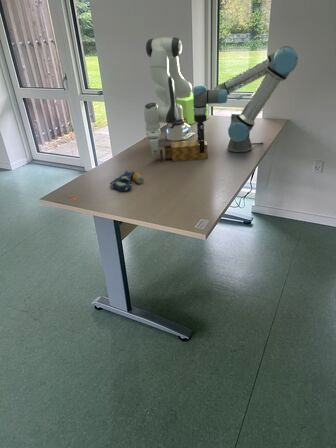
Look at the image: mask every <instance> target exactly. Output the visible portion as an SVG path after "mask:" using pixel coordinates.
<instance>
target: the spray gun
mask: <svg viewBox="0 0 336 448" xmlns="http://www.w3.org/2000/svg"><path fill="white" fill-rule="evenodd" d="M132 180H133V181H134V182H135V183H137V184H138V185H141V184H142V183H143V182H144V176H142V175H141V174H140V173H135V170H124V172H123V173H122V174H120V175H118V176H117V177H116V178H114V179H113V180H112V181H111V182H110V185H109V188H112V189H113V190H114V189H116V190H117V191H120V192H127V191H129V190H130V189H131V188H132V186H133V184H132V183H131V181H132Z"/></svg>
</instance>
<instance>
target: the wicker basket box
mask: <svg viewBox="0 0 336 448" xmlns="http://www.w3.org/2000/svg"><path fill="white" fill-rule="evenodd" d="M201 141H203V140H201ZM204 141H205V143H204V153H200V143H199V142H200V140H198V139H193V140H192V139H190V140H178V141H170V145H171V149H172V158H171V161H172V162H179V161H180V162H181V161H191V160H204V159H208V143H207V140H206V139H205V138H204Z"/></svg>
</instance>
